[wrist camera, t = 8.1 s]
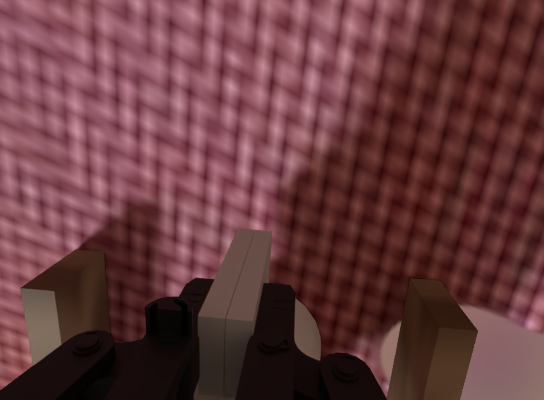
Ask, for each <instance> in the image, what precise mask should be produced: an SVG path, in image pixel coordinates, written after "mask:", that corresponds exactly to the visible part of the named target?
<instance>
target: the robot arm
mask: <svg viewBox="0 0 544 400" xmlns="http://www.w3.org/2000/svg"><path fill="white" fill-rule="evenodd" d="M271 236H272V231H261V230H249V229H238V230H237V232H236V234H235V236H234V238H233V241H232V243H231V245H230V247H229V249H228V251H227V254H226V256H225V258H224V260H223V262H222V264H221V267H220V269H219V271H218V273H217V275H216V277H215V279H204V278H195V279H193V280H192V281H190V282H189V283H187V284H186V285H185V287H184V289H183V290H182V292H181V294H180V296H179V297H164V298H160V299H157V300H155V301H153V302H151V303H149V304H148V305H147V306H146V307H145V317H146V334H145V336H144V337H143V339H141V340H137V341H132V342H124V343H116V344H115V340H114V337H113V336H112V334H110V333H109V332H107V331H102V330H92V331H86V332H83V333H80V334H77V335H75V336H73V337H72V338H70V339H68V340H67V341H66V342H64V343H63V344H62V345H60V346H59V347H58V348H56V349H55V350H54V351H52V352H51V353H50V354H48V355H47V356H46V357H44V358H43V359H42V360H40V361H39V362H38V363H36V364H35V365H34V366H32V367H31V368H30V369H28V370H27V371H26V372H24V373H23V374H22V375H20V376H19V377H18V378H16V379H15V380H14V381H12V382H11V383H9V384H8V385H7V386H5V387H4V388H3V389H1V390H0V400H194V392H195V389H196V386H197V384H198V395H207V396H216V397H225V398H235V400H387V398H386V397H385V395H384V393H383V391H382V389H381V388H380V386H379V384H378V382H377V380H376V379H375V377H374V375H373V373H372V371H371V370H370V368H369V367H368V366H367V365H366V363H365V362H364V361H362V360H361V359H359V358H358V357H356V356H353V355H350V354H347V353H334V354H329V355H328V356H326V357H325V358H323V360H322V361H319V360H317V359H314V358H312V357H309V356H307V355H306V354H304V353H303V352H302V351H301V350H300V349H299V348H298V347H297V345H296V343H295V339H294V329H295V292H294V290H293V289H292V287H291V286H290V285H283V284H271V283H269V271H270V254H271Z"/></svg>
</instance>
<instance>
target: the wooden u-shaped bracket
mask: <svg viewBox="0 0 544 400" xmlns="http://www.w3.org/2000/svg"><path fill="white" fill-rule="evenodd" d="M20 289H21V295H22V301H23V307H24V313H25V319H26V325H27V331H28V337H29V343H30V349H31V355H32V361H33V366H34V365H35V364H36V363H38V362H39V361H40V360H42V359H43V358H44V357H46V356H47V355H48V354H50V353H51V352H52V351H54V350H55V349H56V348H58V347H59V346H60V345H62V344H63V343H64V342H66V341H67V340H68V339H70V338H72V337H73V336H75V335H77V334H80V333H83V332H86V331H92V330H102V331H107V332H109V333H110V334H111V330H110V318H109V307H108V295H107V284H106V272H105V260H104V251H93V250H82V249H76V250H74V251H73V252H71V253H70V254H69V255H67V256H66V257H64V258H63V259H61V260H60V261H59V262H57V263H56V264H54V265H53V266H51V267H50V268H49V269H47V270H46V271H44V272H43V273H41V274H40V275H38V276H37V277H36V278H34V279H33V280H31V281H30V282H28V283H27V284H26V285H24V286H23V287H21V288H20ZM477 333H478V331H477V329H476V328H475V326H474V325H473V324H472V322H471V321H470V320H469V318H468V317H467V316H466V315H465V313H464V312H463V310H462V309H461V308H460V306H459V305H458V304H457V302H456V301H455V300H454V298H453V297H452V296H451V294H450V293H449V292H448V291H447V289H446V288H445V287H444V285H443V284H442V283H441V281H439V280H427V279H416V278H410V280H409V285H408V290H407V296H406V301H405V306H404V312H403V317H402V322H401V327H400V333H399V338H398V343H397V349H396V354H395V359H394V365H393V369H392V375H391V380H390V385H389V391H388V396H387V400H460V397H461V393H462V389H463V385H464V382H465V378H466V374H467V370H468V367H469V363H470V359H471V355H472V351H473V348H474V344H475V340H476V337H477Z"/></svg>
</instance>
